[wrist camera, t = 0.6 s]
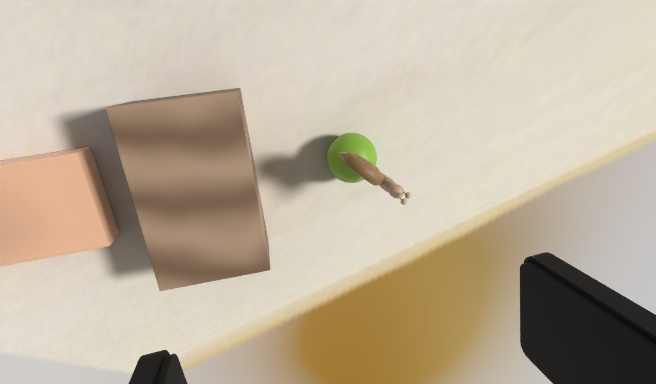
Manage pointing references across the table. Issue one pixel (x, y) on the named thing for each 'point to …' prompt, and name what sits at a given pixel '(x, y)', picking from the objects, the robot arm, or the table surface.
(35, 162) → the peach tile
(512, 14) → the table surface
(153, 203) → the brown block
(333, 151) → the snail figurine
